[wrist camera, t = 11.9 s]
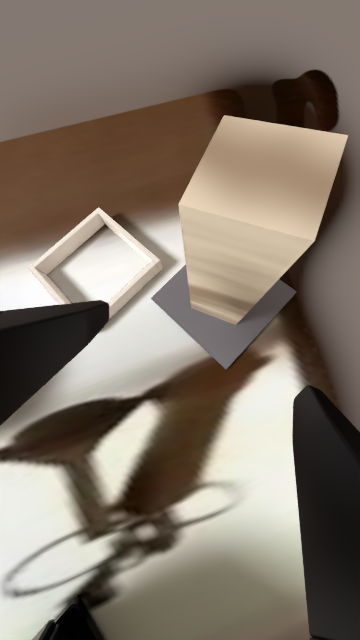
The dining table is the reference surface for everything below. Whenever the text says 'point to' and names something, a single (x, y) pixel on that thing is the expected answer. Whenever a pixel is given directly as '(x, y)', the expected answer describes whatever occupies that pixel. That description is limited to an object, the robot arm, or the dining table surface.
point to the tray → (77, 239)
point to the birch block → (253, 210)
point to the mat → (214, 332)
